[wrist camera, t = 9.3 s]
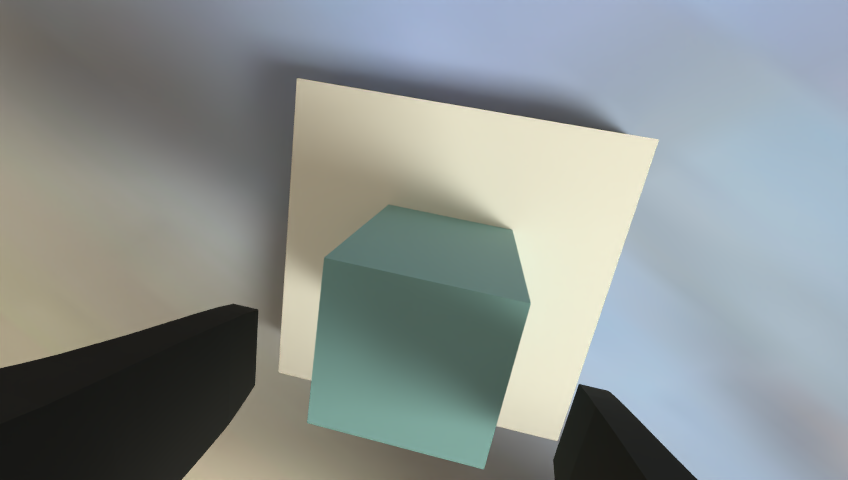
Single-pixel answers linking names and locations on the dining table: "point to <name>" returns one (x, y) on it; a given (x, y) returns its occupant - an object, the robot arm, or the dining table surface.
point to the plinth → (467, 216)
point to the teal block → (419, 333)
